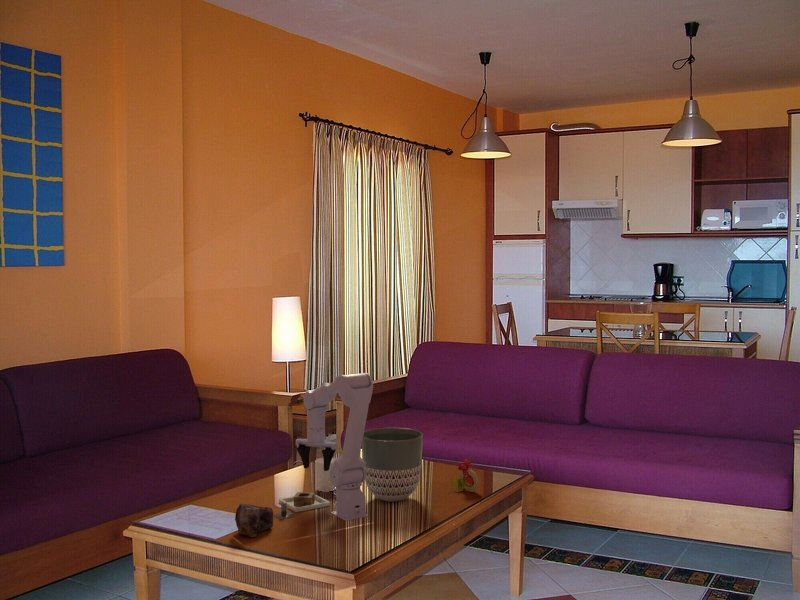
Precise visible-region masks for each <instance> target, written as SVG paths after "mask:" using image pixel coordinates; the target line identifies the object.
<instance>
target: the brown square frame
mask: <svg viewBox="0 0 800 600" xmlns="http://www.w3.org/2000/svg"><path fill="white" fill-rule="evenodd" d="M315 495H316V494H315V492H311V491H310V492H309V491H307V492H306V491H303V492H302V491H300V492H299V491H297V492H296V493H295V494H294V506H295V507H303V506H308V505H313V504H314V502H315Z"/></svg>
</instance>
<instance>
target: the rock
mask: <svg viewBox="0 0 800 600" xmlns="http://www.w3.org/2000/svg"><path fill="white" fill-rule="evenodd" d="M235 511H236V512H235V514H234V515H235V517H234V520H235V525H236V527H237V531H238V533H239V534H240V535H245V536H246V537H249V536H251V537H250V538H257V535H258V534H261V533H263V531H267V530H269V529H272V528H273V526H274V517H273V515H274V511H273V508H272V507H267V506H265V507H264V506H258V505H254V504H247V503H239V505H238V507H237V508H236V510H235ZM257 533H258V534H257Z"/></svg>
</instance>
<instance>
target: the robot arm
mask: <svg viewBox="0 0 800 600" xmlns="http://www.w3.org/2000/svg"><path fill="white" fill-rule="evenodd" d="M372 380H373V379H372V376H371V375H370V374H369V373H368V372H362V373H352V374H339V375H338V376H335V380H333V381H332V382H321V385H320V386H318V387H316V388H314V390H311V391H310V390H306V392H305V393H304V394H303V405H304V407H305V408H306V421H307V422H306V430H307V431H306V433H307V437H306V438H297V439H295V446H298V447H296V451H297V452H298V454H299V457H300V459H301V463H302V466H303V468H304V469H308V468H309V467H310V454H311V453H310V452H311V447H313V448H321V454H322V458H323V460H324V471H328V470H329V467H330V463H331V460H332V458H334V454H335V453H336V450H337V449H338V442H337V441H336V442H335V441H330V440H328V439H327V440H326V413H327V409H328V405H329V403H330V402H331V401H333V400H335V399H336V398H337V394H338V396H339V397H340V398H339V399H341V401H342V403H343V405H344V406H346V407H347V408H349V413H348V418H347V425H346V431H345V435H344V441H343V447H342V453H341V455H340V456H338V457H337V458H336V460H335V461H334V464H333V467H332V468H331V471H330V480H331V482H332V484H333V485H334V487H336V491H335V494H336V495H335V496H336V497H335V498H336V499H335V501H336V502H335V506H336V508H335V510H334V511H331V512H330V514H332V515H333V516H335V517H337V518H339V519H341V520H344V521H352V520H358V519H362V518H369V515H368V514H367V512H366V509H367V508H366V506H367V505H366V504H367V503H366V500H367V499H366V495H365V493H364V492H363V491H362V490H361V487H363V483H364V482H365V477H366V471H365V466H366V464H365V462H364V460H363V457H361V452H362V451H361V450H362V440H363V434H364V432H365V428H366V423H367V418H368V412H369V405H370V403H371V400H372V396H373V391H374V390H373V389H374V382H373V381H372Z"/></svg>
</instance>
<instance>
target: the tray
mask: <svg viewBox="0 0 800 600" xmlns="http://www.w3.org/2000/svg"><path fill="white" fill-rule="evenodd" d="M294 496H295V495H294ZM294 496H288V497H283V498H279V499H278V503H279V504H281V503H283V502H286V507H287V508H288V509H290V511H293V512H294V513H299V512H305V511H310V510H314V509H320V508H324V507H329V506H331V502H330V501H329V500H327V499H324V498H323V497H321V496H319V495H317V494H315V502H314V504H313V505H308V506H303V507H295V506H294Z"/></svg>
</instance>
